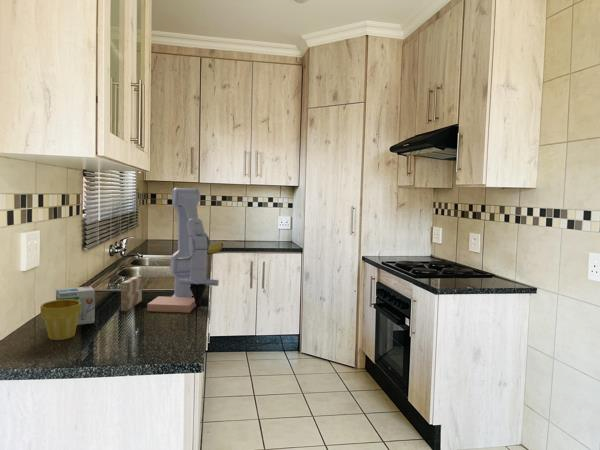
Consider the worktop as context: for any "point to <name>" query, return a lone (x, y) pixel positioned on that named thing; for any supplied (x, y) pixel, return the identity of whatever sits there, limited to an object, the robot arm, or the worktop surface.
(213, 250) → the banana
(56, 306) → the plant pot
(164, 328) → the worktop surface
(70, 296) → the light bulb box
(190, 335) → the worktop surface
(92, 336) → the worktop surface
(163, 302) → the book
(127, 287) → the bookend
